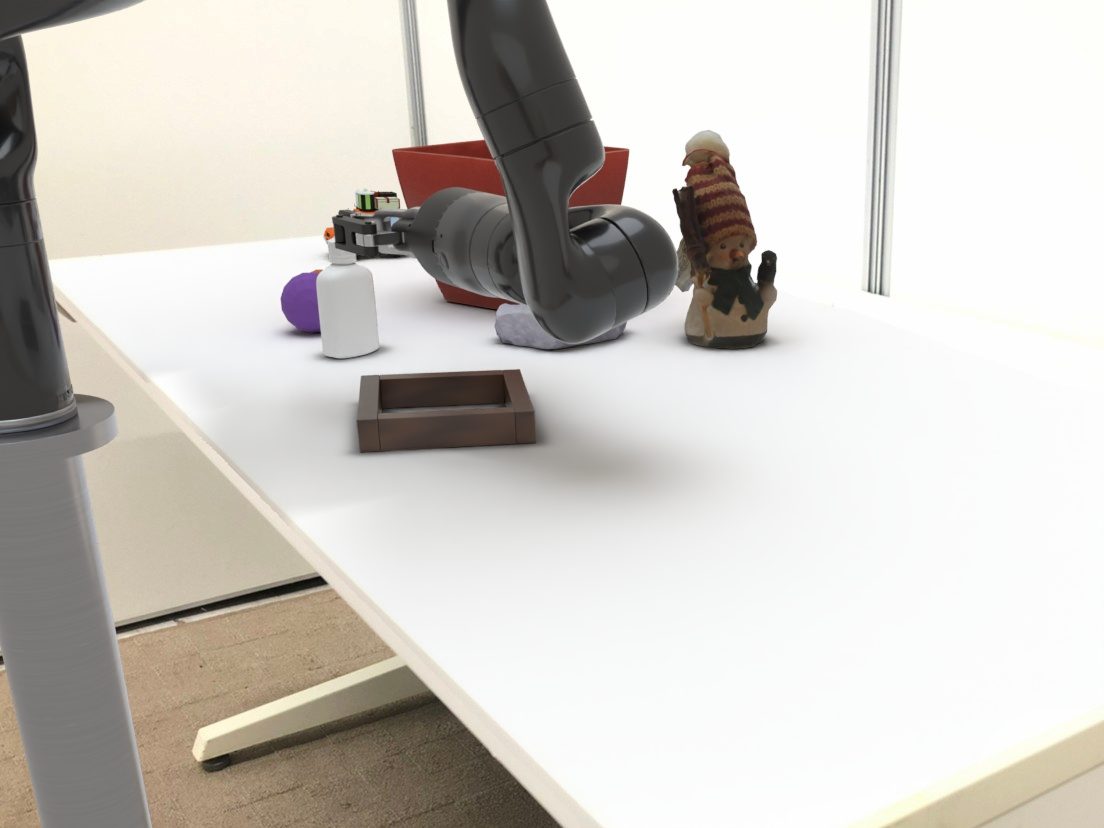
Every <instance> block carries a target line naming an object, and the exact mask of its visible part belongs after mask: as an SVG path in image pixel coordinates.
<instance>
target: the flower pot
mask: <svg viewBox="0 0 1104 828" xmlns="http://www.w3.org/2000/svg"><path fill="white" fill-rule="evenodd" d="M603 146H604V150H605V161H604V164H603V166H602V168H601V169H600V170H599V171H598V172H597V173H596V174H595V175H594V176H592V177H591V178H590V179H589V180H587V181H586V182H585V183H583V184H582V185H581V186H579V187H578V188H577V189H576V190H575V191H574V192H573V193H572V195H571V197H570V200H569V208H570V207H579V206H591V205H609V204H611V205H622V203H623V197H624V192H625V186H626V181H627V173H628V168H629V158H630V148H627V147H615V146H607V145H606V146H605V145H603ZM391 154H392V159H393V163H394V168H395V172H396V175H397V179H398V183H399V186H400V190H401V193H402V194H401V195H402V197H403V200H404V203H405V206H406V209H409V208H413V207H421V206H422V204H423V203H424V202H425V201H426V200H427V199H428V198H429V197H430V196H432V195H433V194H434V193H436V192H438V191H440V190H443V189H446V188H452V187H460V188H466V189H471V190H476V191H481V192H485V193H490V194H495V195H500V196H504V197H506V195H505V191H504V187H503V183H502V179H501V176H500V174H499V171H498V169H497V167H496V165H495V162H494V161H495V160H496V159H493V158H492V156H491V153H490V151H489V149H488V147H487V144H486V142H485V140H484V139H476V140H465V141H457V142H447V143H439V144H428V145H418V146H410V147H409V146H408V147H399V148H398V147H397V148H392V149H391ZM434 280H435V282H436V285H437V287H438V289H439V290H440V292H441V294H442V296H443V298H444V300H445V301H447V302H452V303H456V304H457V303H458V304H463V305H470V306H475V307H481V308H486V309H493V310H496V311H497V310H498V308H499V306H500V305H502V304H505V303H506V304H510V305H519V304H518V303H515V302H512V301H509V300H506V299H503V298H495V297H487V296H483V295H480V294H477V293H474V292H471V291H468V290H465V289H462V288H458V287H455V286H452V285H449V284H446V283H443V282H441V281H438V280H437V279H435V278H434Z"/></svg>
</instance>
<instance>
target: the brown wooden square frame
mask: <svg viewBox="0 0 1104 828" xmlns="http://www.w3.org/2000/svg"><path fill="white" fill-rule="evenodd" d="M359 383H360V384H359V392H358V402H357V403H358V404H357V412H356V428H357V429H356V430H357V439H358V447H359V449H358V450H359V452H360V453H369V452H370V453H371V452H380V451H381V452H388V451H389V452H391V451H408V450H425V449H426V450H427V449H445V448H463V447H481V446H483V447H484V446H499V445H517V444H533V443H534V444H536V443H537V433H536V431H537V429H536V412H535V411H536V410H535V409H534V406H533V403H532V399H531V397H530V393H529V392H528V389H527V385H526V383H525V380H524V377H523V374H522V372H521V369H520V368H514V369H513V368H512V369H511V368H510V369H487V370H469V371H468V370H464V371H462V370H461V371H439V372H417V373H415V372H414V373H413V372H412V373H391V374H390V373H389V374H387V373H386V374H367V375H361V376H360V381H359ZM486 404H487V405H488V404H505V407H484V408H465V409H444V410H443V409H441V410H424V411H423V410H421V411H420V410H419V411H402V412H383V409H400V408H401V409H402V408H403V409H405V408H423V407H444V406H445V407H447V406H466V405H467V406H468V405H486Z"/></svg>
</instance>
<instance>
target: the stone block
mask: <svg viewBox="0 0 1104 828" xmlns="http://www.w3.org/2000/svg"><path fill="white" fill-rule="evenodd" d="M494 322H495V323H494V329H495V333H496V336H497V337H498V338H499V340H500V342H501V343H503V344H510V345H511V344H512V345H514V346H520V347H521V346H522V347H531V348H535V349H540V350H560V349H564V348H570V347H571V348H572V347H575V346H581V345H588V344H589V345H590V344H594V343H601V342H604V341H610V340H617V339H618V338H619V337H620V335H622V334H623V332H624V331H625V330H626V327H627V323H628V321H627V322H625V323H623V324H621V325H619V326H617V327H615V328H613V329H611V330H609V331H607V332H605V333H603V334H601V335H599V336H597V337H595V338H593V339H591V340H589V341H586V342H583V343H579V344H568V343H564V342H561V341H559V340H557V339H555V338H554V337H552V336H551V335H549V334H548V333H547V332H546V331H545V330H543V329H542V328H541V326H540V325H539V324H538V323H537V322H536V320H535V319H534V317H533V316H532V314H531V312H530V310H529V308H528V306H525V305H522V304H519V305H510V304H506V303H505V304H502V305H500V306H499V308H498V310H497V309H496V312H495V321H494Z"/></svg>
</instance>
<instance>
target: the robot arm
mask: <svg viewBox="0 0 1104 828" xmlns="http://www.w3.org/2000/svg"><path fill="white" fill-rule="evenodd" d="M145 1H146V0H0V434H4V433H14V432H22V431H29V430H34V429H39V428H44V427H48V426H52V425H55V424H58V423H61V422H64V421H66V420H68V419H70V418H72V417H73V416H75V415H76V413H77V411H78V410H77V405H76V399H75V397H74V396H73V394H74V387H73V384H72V380H71V376H70V375H71V374H70V370H69V364H68V359H67V353H66V347H65V343H64V337H63V331H62V326H61V323H60V316H59V311H58V306H57V300H56V294H55V290H54V284H53V279H52V273H51V269H50V263H49V258H48V253H47V247H46V242H45V241H46V240H45V237H44V231H43V225H42V221H41V220H42V219H41V215H40V210H39V204H38V199H37V197H36V196H37V194H36V188H35V180H34V179H35V178H34V177H35V171H36V166H37V162H38V156H39V154H38V153H39V146H38V143H39V142H38V135H37V129H36V128H37V127H36V121H35V114H34V105H33V98H32V90H31V82H30V72H29V65H28V59H27V54H26V48H25V45H24V40H23V37H22V35H24V34H29V33H33V32H37V31H42V30H47V29H52V28H56V27H61V26H65V25H70V24H74V23H79V22H81V21H86V20H91V19H94V18H98V17H102V16H106V15H108V14H109V15H110V14H113V13H116V12H121V11H122V10H126V9H128V8H131V7H133V6H136V5H138V4H142V3H143V2H145ZM446 6H447V14H448V22H449V29H450V38H451V43H452V48H453V54H454V59H455V64H456V68H457V71H458V75H459V78H460V82H461V85H462V88H463V91H464V94H465V97H466V99H467V101H468V105H469V107H470V109H471V112H472V114H473V116H474V118H475V121H476V124H477V126H478V128H479V130H480V133H481V135H482V137H483V140H485V142H486V144H487V147H488V149H489V151H490V153H491V156H492V158H493V159H496V160H495V161H494V162H495V165H496V167H497V169H498V171H499V174H500V176H501V179H502V183H503V187H504V191H505V195H506V197H504V196H500V195H495V194H490V193H485V192H481V191H476V190H471V189H466V188H460V187H452V188H446V189H443V190H440V191H438V192H436V193H434V194H433V195H432V196H430V197H429V198H428V199H427V200H426V201H425V202H424V203H423V204H422V206H421V207H413V208H409V209H407V208H400V209H390V208H385V209H381V210H377V211H376V212H375V213H374V214H363V213H361V212H355V211H353V210H351V209H348V210H347V209H339V210H338V212H337V213H338V214H336V215H334V216H331V222H332V225H333V227H334V236H335V248H336V249H340V250H344V251H347V252H351V253H354V254H358V256H362V257H367V259H368V258H369V259H372V258H373V259H374V258H376V257H379V256H380V254H385V255H387V254H401V255H400V256H409V257H411V258H412V259H416V260H417V262H418V263H419V264H420V266H421V268H423V270H424V271H425V272H426V273H427V274H428V275H429V276H430V277H431V278H433V279H434V280H435V279H437V280H438V281H441V282H443V283H446V284H449V285H452V286H455V287H458V288H462V289H465V290H468V291H471V292H474V293H477V294H480V295H483V296H487V297H495V298H503V299H506V300H509V301H512V302H515V303H518V304H522V305H525V306H528V308H529V310H530V312H531V314H532V316H533V317H534V319H535V320H536V322H537V323H538V324H539V325H540V326H541V328H542V329H543V330H545V331H546V332H547V333H548V334H549V335H551V336H552V337H554V338H555V339H557V340H559V341H561V342H564V343H568V344H579V343H583V342H586V341H589V340H591V339H593V338H595V337H597V336H599V335H601V334H603V333H605V332H607V331H609V330H611V329H613V328H615V327H617V326H619V325H621V324H623V323H625V322H627V323H628V321H631V320H633V319H635V318H637V317H638V316H640V315H643V314H644V313H647V312H649V311H651V310H653V309H655V308H656V307H657V306H659V305H660V304H662V303H663V302H664V301H665V300H666V299H667V298H668V297H669V296H670V295H671V293H672V292H673V290H674V288H675V286H676V285H675V283H676V281H677V277H678V266H679V263H678V256H677V249H676V245H675V243H674V242H673V239H672V238H671V236H670V235H669V232H668V231H667V230H666V229H665V227H663V226H662V225H661V224H660V223H659V221H657V220H656V219H655V218H654V217H653V216H651V215H650V214H648V213H646V212H645V211H642V210H640V209H638V208H635V207H632V206H629V205H623V204H621V205H611V204H609V205H591V206H579V207H570V208H569V200H570V197H571V195H572V193H573V192H574V191H575V190H576V189H577V188H578V187H579V186H581V185H582V184H583V183H585V182H586V181H587V180H589V179H590V178H591V177H592V176H594V175H595V174H596V173H597V172H598V171H599V170H600V169H601V168H602V166H603V164H604V161H605V150H604V146H605V145H604V143H603V140H602V137H601V134H600V132H599V130H598V127H597V124H596V121H595V120H594V119H593V115H592V113H591V110H590V108H589V105H588V102H587V100H586V97H585V94H584V92H583V90H582V88H581V85H580V83H579V80H578V78H577V75H576V73H575V70H574V68H573V65H572V63H571V60H570V58H569V56H568V52H567V51H566V48H565V45H564V43H563V41H562V38H561V35H560V33H559V30H558V27H557V25H556V23H555V19H554V17H553V15H552V11H551V9H550V7H549V3H548V1H547V0H446ZM391 217H397V218H400V219H399V220H398V221H396V222H395V223H394V224H393V225H392V226H391Z"/></svg>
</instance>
